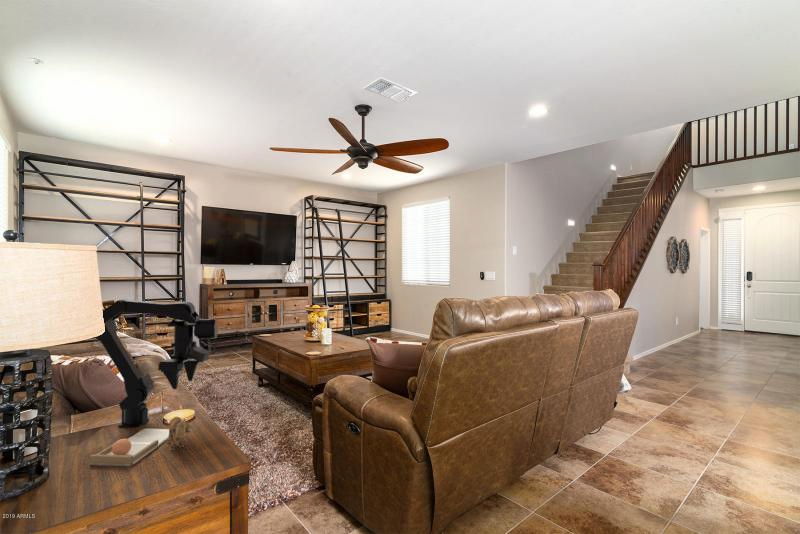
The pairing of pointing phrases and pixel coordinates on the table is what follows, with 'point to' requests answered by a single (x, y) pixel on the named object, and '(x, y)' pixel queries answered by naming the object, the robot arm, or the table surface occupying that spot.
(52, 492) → the table surface
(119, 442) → the ball
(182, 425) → the lion figurine
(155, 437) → the lane
